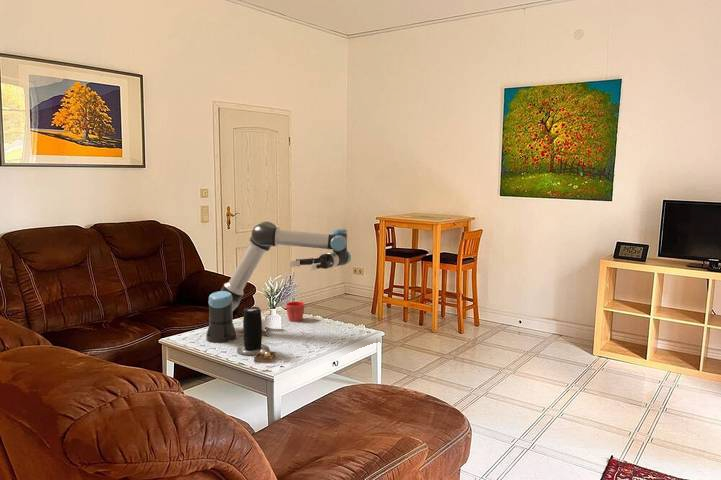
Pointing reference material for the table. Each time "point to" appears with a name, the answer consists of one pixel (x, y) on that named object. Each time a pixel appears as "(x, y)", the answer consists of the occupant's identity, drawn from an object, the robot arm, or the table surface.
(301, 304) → the flower pot
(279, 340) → the table surface
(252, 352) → the slate trivet
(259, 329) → the portable speaker
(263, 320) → the penguin
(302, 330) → the table surface
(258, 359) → the walnut dish
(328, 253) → the robot arm
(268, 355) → the brass ball
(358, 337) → the table surface
